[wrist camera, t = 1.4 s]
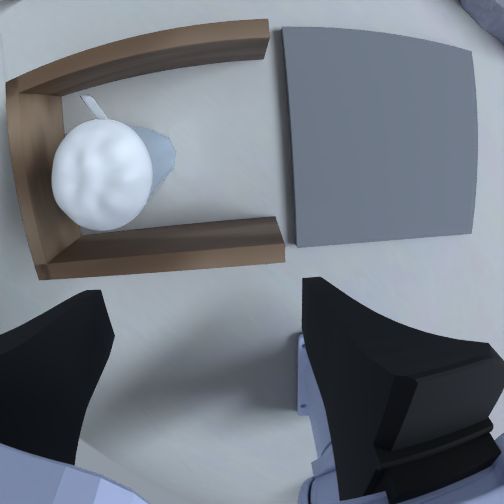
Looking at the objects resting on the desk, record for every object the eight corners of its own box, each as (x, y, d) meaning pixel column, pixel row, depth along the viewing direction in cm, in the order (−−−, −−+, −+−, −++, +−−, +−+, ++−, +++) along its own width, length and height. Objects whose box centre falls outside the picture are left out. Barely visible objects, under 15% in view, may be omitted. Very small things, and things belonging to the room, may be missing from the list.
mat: (467, 231, 21) (471, 233, 21) (295, 244, 21) (297, 247, 21) (466, 52, 16) (471, 51, 16) (281, 29, 16) (282, 26, 16)
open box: (276, 231, 21) (285, 262, 16) (73, 250, 21) (39, 280, 16) (262, 44, 17) (268, 19, 12) (49, 86, 17) (5, 82, 12)
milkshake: (194, 112, 18) (148, 97, 9) (181, 196, 20) (131, 257, 11) (125, 105, 18) (33, 95, 8) (115, 187, 20) (27, 237, 10)
